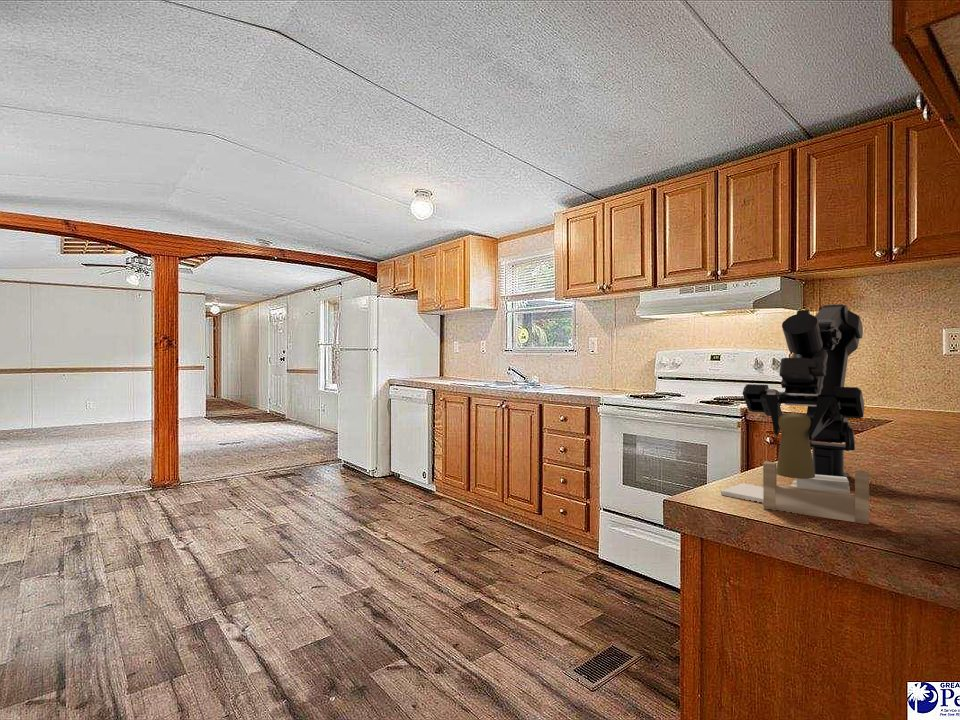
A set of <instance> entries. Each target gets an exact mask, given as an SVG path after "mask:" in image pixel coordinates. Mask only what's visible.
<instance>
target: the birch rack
mask: <svg viewBox="0 0 960 720" xmlns="http://www.w3.org/2000/svg"><path fill="white" fill-rule="evenodd" d="M762 467H763V468H762V475H763V478H762V479H763V481H762V482H763V483H762V484H763V485H762V487H763V503H762V505H763V508H764V510H768V509H772V510H771V511H776V510H779V511H778V512H783V511H786V512H785V513H790V512H792V514H797V513H798V514H797V515H803V514H804V515H805V516H810V517H811V516H812V517H818V518H825V519H830V520H831V519H833V520H840V521H846V522H852V523H856V524H857V523H858V524H865V525H870V472H869V471H865V470H855V471H854V494H843V493H834V492H826V491H818V490H810V489H802V488H793V487H790V486H784V485H778V484H777V476H778V474H776V469H777V461H776V462H775V461H767V460H765V461H763V464H762ZM763 508H762V509H763Z"/></svg>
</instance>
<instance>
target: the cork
mask: <svg viewBox="0 0 960 720" xmlns="http://www.w3.org/2000/svg"><path fill="white" fill-rule="evenodd" d="M782 414H783V413H782ZM811 423H812V421H811V419H810V417H809V416H807V415H806V414H803V413H799V412H797V413H795V412H794V413H793V412H789V413H784V414H783V415H781V416H780V417H779V420H778V426H779V428H780V432H781V434H780V441H779V450H778V456H777V457H778V458H777V461H776V475H777V476H780V477H785V478H790V479H796V478H798V479H809V478H814V477H815V472H814V466H813V460H812V449H811V448H812V447H810V441H809V435H808V432H809V431H810V426H811Z"/></svg>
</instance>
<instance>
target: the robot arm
mask: <svg viewBox="0 0 960 720" xmlns="http://www.w3.org/2000/svg"><path fill="white" fill-rule="evenodd" d="M781 328H782V331H783V334H784V338H785V342H786V345H787V349H788V351H789V353H791V354H792V357H782V358H781V359H780V368H779V377H781V382H780V385H781V388H782V389H784V391H779V390H777V389H775V388H769V385H768V384H756V383H755V384H754V383H751V384H750V383H748V384H746V385H745V386H744V387H743V389H742V396H743V399H744V401H745V404H746V407H747V410H748V411H749V412H752V413H764V414H765V415H766V416H768V417H771V422H772V427H773V433H774V436H775V437H779V435H780V432H781V430H780V428H779V426H778V420H779V417H780V416H781V415H783V412H782V407H781V405H782V404H784V405H785V406H798V407H799V406H800V407H807V409H806V414H805V415H807V416H809V417H810V419H811V421H812V423H811V426H810V431H809V432H808V435H809V441H810V447H811V448H812V449H811V454H812V460H813V466H814V472H815V474H817V475H828V476H839V477H847V478H848V477H849V476H851V473H850V472H845V461H844V460H845V458H844V457H845V455H844V453H845V452H844V451H846V452H850V451H855V450H856V440H855V434H854V429H853V428H852V427H851V424H850V422H849V420H848V419H862V418H864V414H865V401H864V395H863V392H862V390H861V389H860V388H859V387H858V386H845V381H846V375H847V367H848V359H849V356H850V355H851V354H852V353H854V352H855V351H856V350H857V349H858V348H859V342H860V339H863V334H864V332H863V331H864V329H863V323H862V320H861V318H860V316H859V315H858V314H856V313H854V312H852V311H850V310H849V308H848V305H847V304H842V303H838V304H837V303H836V304H824V305H822V306H820V307H819V310H818V312H817V313H816V315H814V314H811V313H810V310H809V309H805V310H797V311H796V314H793V315H791V316H788V317H787V318H785V320H783V322H782V324H781Z"/></svg>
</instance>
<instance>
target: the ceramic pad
mask: <svg viewBox="0 0 960 720" xmlns="http://www.w3.org/2000/svg"><path fill="white" fill-rule="evenodd" d="M720 495H721V496H725V497H731V498H736V499H739V498H740V500H744V499H745V501H749V500H751V501H750V502H754V501H757V502H756V503H759V502H762V503H761V504H763V486H760V485H755V484H754V485H753V484H748V483H738V484H735V485H732V486H730V487H727V488H723V489H722V490H720Z"/></svg>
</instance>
